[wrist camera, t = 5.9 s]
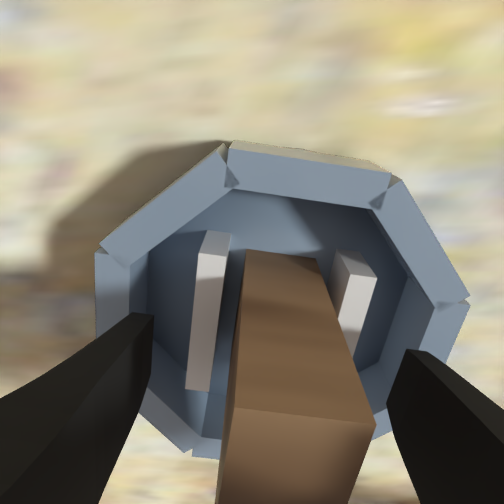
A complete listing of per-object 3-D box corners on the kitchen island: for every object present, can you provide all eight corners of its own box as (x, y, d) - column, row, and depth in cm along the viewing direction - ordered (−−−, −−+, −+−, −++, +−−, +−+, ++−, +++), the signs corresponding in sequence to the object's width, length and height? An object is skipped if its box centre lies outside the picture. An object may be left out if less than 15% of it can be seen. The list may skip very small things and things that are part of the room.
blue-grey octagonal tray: (375, 425, 16) (394, 480, 14) (121, 393, 16) (97, 445, 13) (468, 174, 12) (519, 192, 10) (125, 121, 11) (92, 127, 9)
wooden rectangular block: (293, 352, 14) (324, 566, 8) (231, 344, 14) (209, 554, 8) (315, 258, 13) (376, 425, 6) (246, 248, 12) (234, 407, 6)
